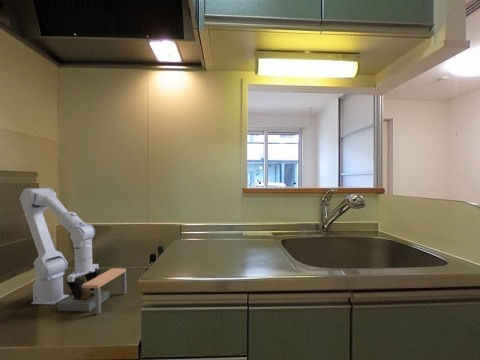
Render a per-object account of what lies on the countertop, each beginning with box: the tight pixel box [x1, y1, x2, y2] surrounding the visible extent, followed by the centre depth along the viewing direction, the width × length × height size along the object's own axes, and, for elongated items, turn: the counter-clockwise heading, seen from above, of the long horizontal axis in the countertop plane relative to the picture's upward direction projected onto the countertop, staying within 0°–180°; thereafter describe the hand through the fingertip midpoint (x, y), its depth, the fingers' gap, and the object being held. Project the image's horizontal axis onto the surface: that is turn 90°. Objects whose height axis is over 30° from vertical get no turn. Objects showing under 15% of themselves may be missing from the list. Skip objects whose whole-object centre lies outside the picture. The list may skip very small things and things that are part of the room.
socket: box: [57, 290, 110, 312], centre depth 104 cm, size 12×12×2 cm
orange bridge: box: [82, 267, 128, 315], centre depth 104 cm, size 6×18×10 cm, turn 173°
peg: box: [79, 282, 91, 300], centre depth 104 cm, size 4×4×7 cm
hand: (84, 294), depth 104 cm, fingers open, 7 cm apart
